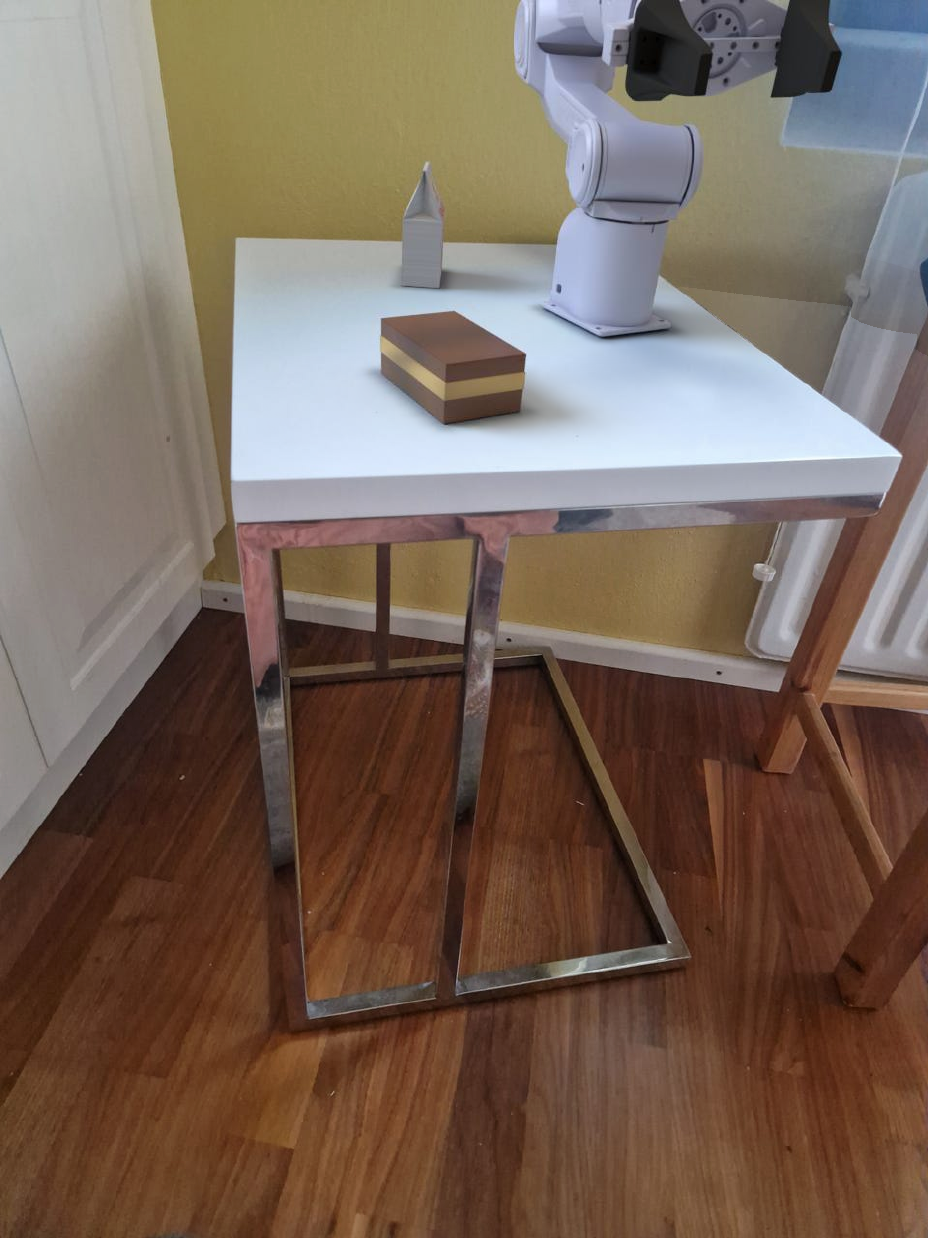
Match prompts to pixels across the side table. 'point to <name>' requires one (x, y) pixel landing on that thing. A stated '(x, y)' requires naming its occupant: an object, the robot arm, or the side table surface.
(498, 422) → the side table surface
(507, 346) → the snack box
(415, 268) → the white milk carton
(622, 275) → the robot arm
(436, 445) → the side table surface
